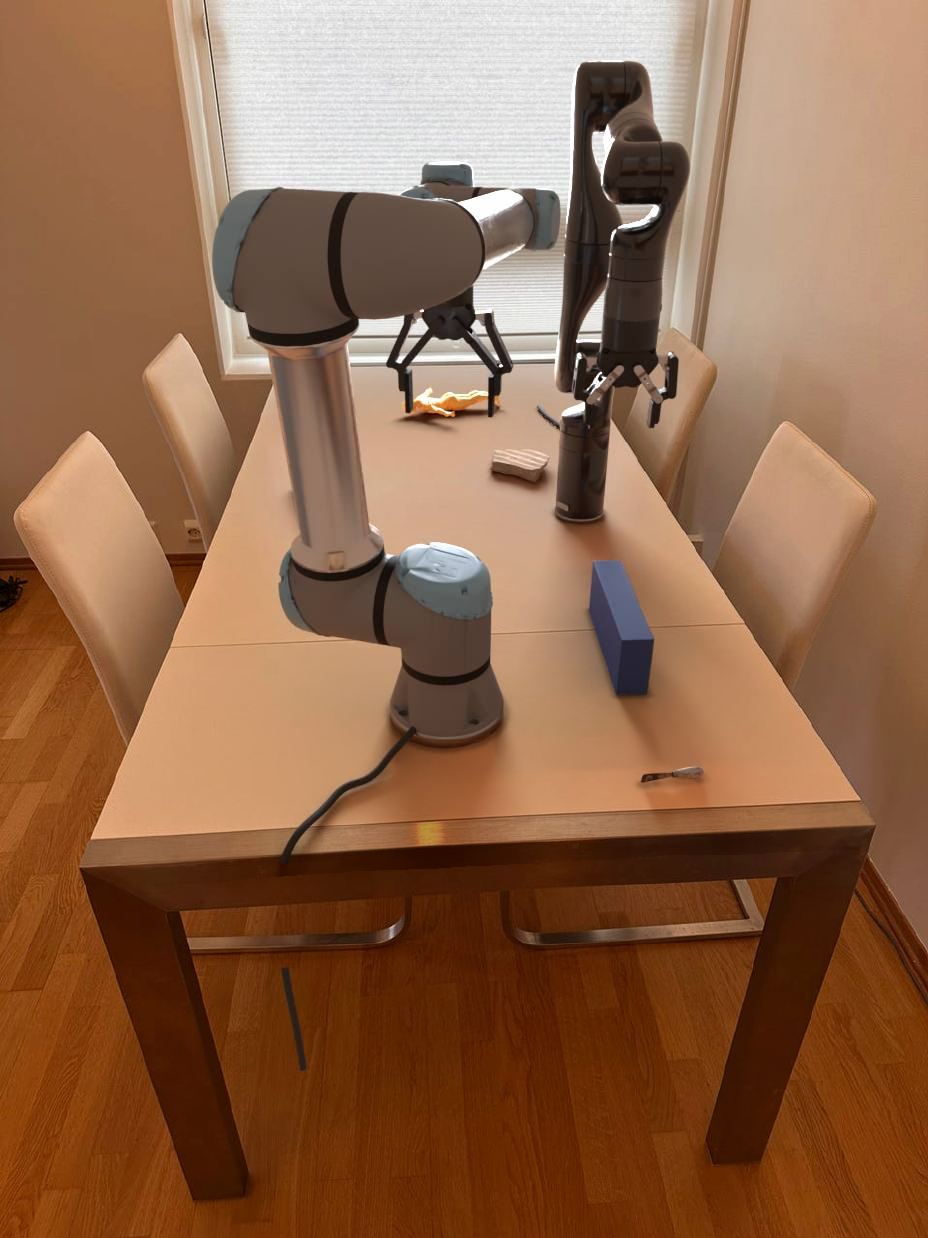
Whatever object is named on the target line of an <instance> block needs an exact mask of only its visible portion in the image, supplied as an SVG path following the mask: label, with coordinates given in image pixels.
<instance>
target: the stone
mask: <svg viewBox="0 0 928 1238" xmlns="http://www.w3.org/2000/svg"><path fill="white" fill-rule="evenodd" d="M549 461H550V456H549V455H547V454H545V453H543V451H542V450H540V451H537V450H533V449H525V448H524V449H523V448H521V449H510V448H502V449H494V450H493V452H492V459H491V465H490V469H489V470H490V471H492V472H497V473H501V474H504V475H513V476H517V477H520V478H522V479H524V480H527V481H529V482H533V483H534V482H537V480H539V478H540V476H541V472H542V471H544V469H545V468H547V466H548V463H549Z"/></svg>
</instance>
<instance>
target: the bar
mask: <svg viewBox="0 0 928 1238" xmlns="http://www.w3.org/2000/svg"><path fill="white" fill-rule="evenodd" d="M591 565H592V567H591V579H590V592H589V601H588V603H589V604H588V612H589V614H590V619H591V621H592V625H593V628H594V631H595V634H596V637H597V640H598V643H599V646H600V650H601V652H602V656H603V659H604V662H605V665H606V668H607V671H608V675H609V678H610V680H611V683H612V686H613V689H614V693H615V696H631V695H632V696H633V695H635V696H636V695H648V693H649V692H648V691H649V684H650V676H651V669H652V662H653V661H652V660H653V653H654V646H655V638H654V635H653V633H652V630H651V628H650V626H649V623H648V621H647V619H646V617H645V613H644V612H643V609H642V607H641V604H640V602H639V600H638V597H637V595H636V592H635V591H634V588H633V586H632V583H631V581H630V578H629V575H628V574H627V571H626V569H625V567H624V564H623V562H622V559H600V560H599V559H597V560H596V559H595V560H592V564H591Z"/></svg>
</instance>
